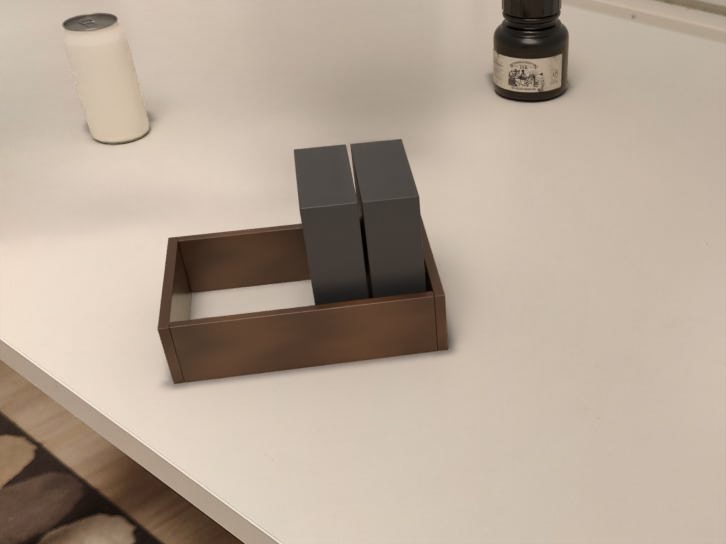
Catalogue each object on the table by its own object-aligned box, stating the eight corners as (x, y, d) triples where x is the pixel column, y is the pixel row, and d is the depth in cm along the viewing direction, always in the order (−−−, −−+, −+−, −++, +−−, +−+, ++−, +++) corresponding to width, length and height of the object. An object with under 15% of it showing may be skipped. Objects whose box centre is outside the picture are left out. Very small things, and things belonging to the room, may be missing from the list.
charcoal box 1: (322, 353, 73) (299, 208, 65) (315, 286, 80) (293, 148, 72) (374, 347, 73) (357, 202, 65) (362, 281, 80) (345, 143, 72)
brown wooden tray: (177, 396, 71) (157, 329, 67) (185, 301, 81) (167, 237, 77) (448, 362, 73) (445, 295, 69) (424, 273, 83) (419, 210, 79)
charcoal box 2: (378, 346, 73) (361, 202, 65) (366, 281, 80) (349, 143, 72) (429, 340, 74) (419, 196, 66) (412, 275, 81) (401, 138, 73)
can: (106, 150, 104) (72, 35, 96) (83, 132, 108) (48, 20, 100) (160, 134, 107) (131, 21, 99) (136, 117, 111) (106, 7, 102)
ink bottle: (480, 98, 113) (478, -12, 105) (503, 72, 119) (502, -33, 111) (559, 106, 110) (563, -5, 102) (578, 79, 116) (583, -28, 108)
